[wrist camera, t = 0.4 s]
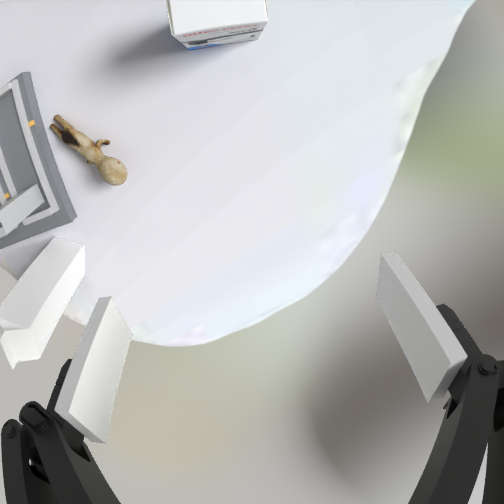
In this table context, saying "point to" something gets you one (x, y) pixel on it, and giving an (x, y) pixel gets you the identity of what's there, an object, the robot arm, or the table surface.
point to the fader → (19, 208)
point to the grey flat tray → (29, 162)
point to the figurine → (91, 152)
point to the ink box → (216, 21)
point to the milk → (40, 300)
